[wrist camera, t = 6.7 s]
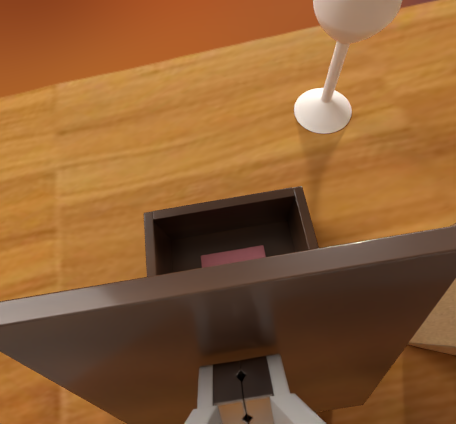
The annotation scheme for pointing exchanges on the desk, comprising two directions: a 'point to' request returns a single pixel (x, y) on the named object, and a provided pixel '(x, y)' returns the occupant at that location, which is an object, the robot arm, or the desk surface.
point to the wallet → (233, 256)
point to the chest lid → (236, 325)
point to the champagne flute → (341, 57)
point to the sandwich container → (439, 325)
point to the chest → (227, 229)
